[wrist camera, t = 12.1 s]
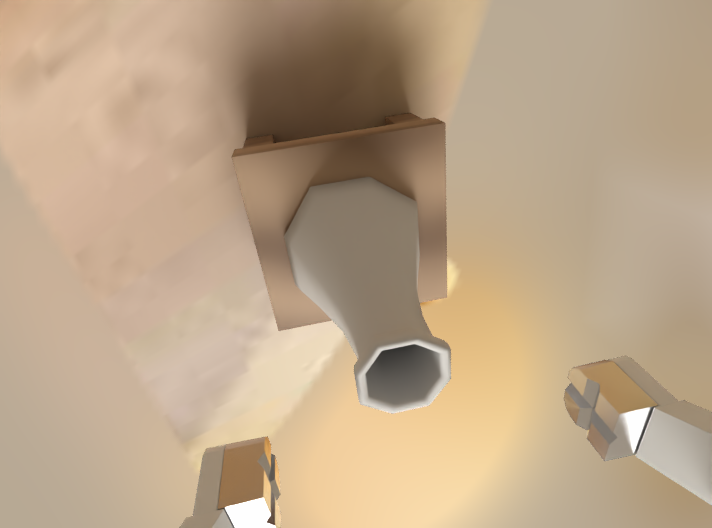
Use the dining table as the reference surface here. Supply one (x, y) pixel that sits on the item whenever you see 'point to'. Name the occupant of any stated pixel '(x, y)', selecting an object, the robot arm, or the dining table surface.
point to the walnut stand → (335, 164)
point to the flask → (370, 288)
